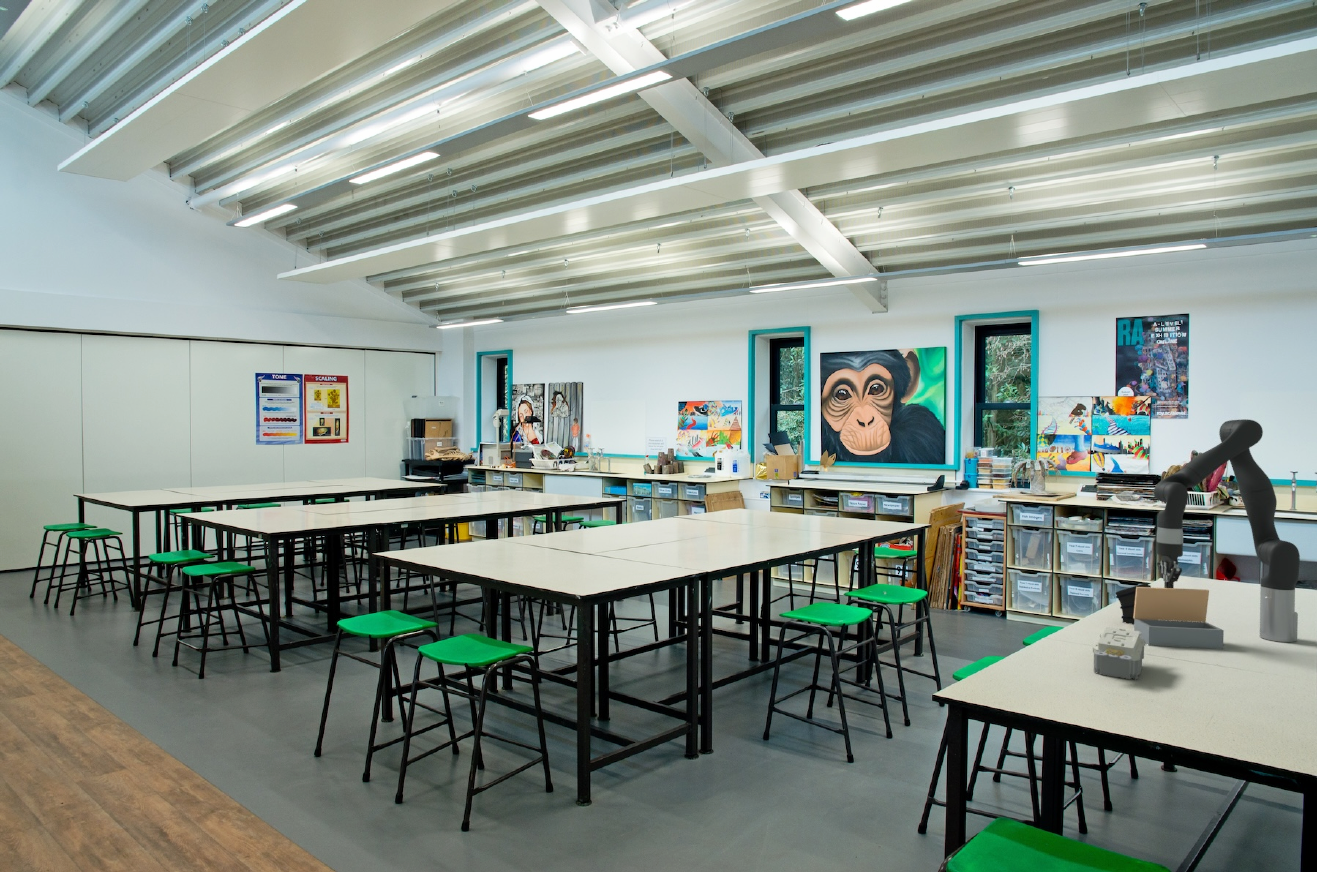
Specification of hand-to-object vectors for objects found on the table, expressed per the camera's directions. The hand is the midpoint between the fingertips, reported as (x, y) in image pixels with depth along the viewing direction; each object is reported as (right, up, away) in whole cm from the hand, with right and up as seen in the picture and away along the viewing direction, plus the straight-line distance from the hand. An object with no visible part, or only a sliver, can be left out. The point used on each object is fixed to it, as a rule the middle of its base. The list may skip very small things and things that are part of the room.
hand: (1168, 592), depth 272 cm
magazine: (+1, -15, +20) cm, 25 cm away
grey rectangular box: (-1, -15, -6) cm, 16 cm away
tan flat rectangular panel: (0, -4, -2) cm, 4 cm away
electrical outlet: (-38, -15, -38) cm, 56 cm away
